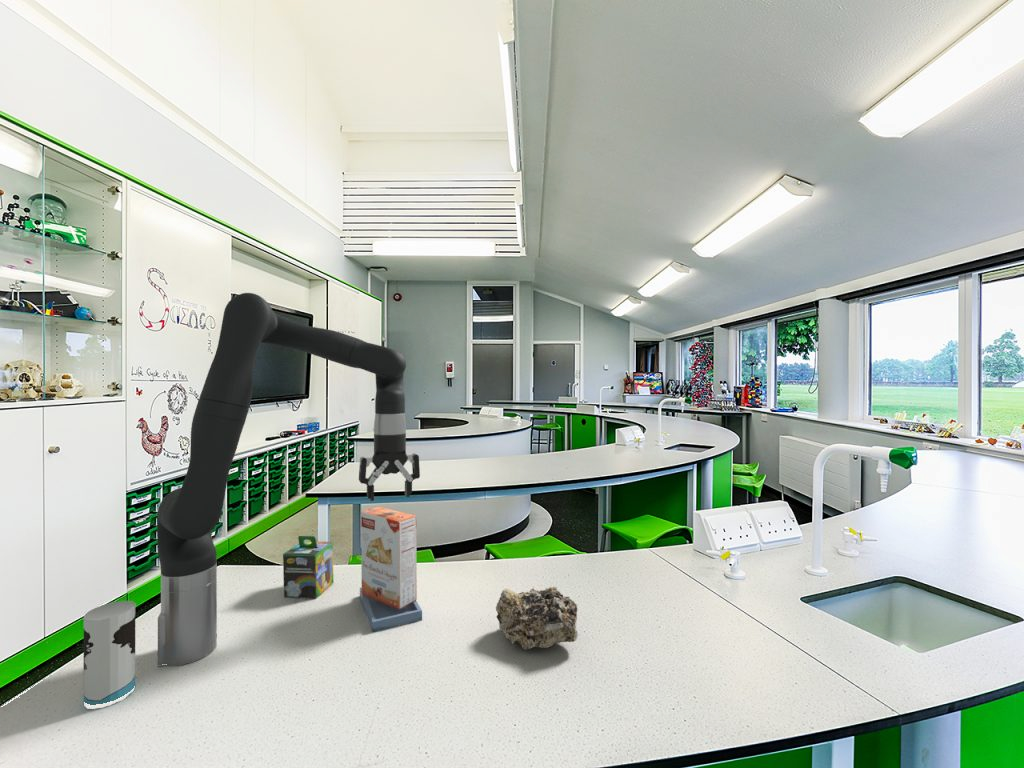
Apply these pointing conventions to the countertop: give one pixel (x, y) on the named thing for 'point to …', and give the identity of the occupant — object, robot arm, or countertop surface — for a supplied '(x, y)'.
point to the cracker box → (389, 556)
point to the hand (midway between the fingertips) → (389, 498)
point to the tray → (389, 613)
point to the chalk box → (308, 568)
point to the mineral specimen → (537, 617)
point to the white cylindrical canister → (109, 652)
